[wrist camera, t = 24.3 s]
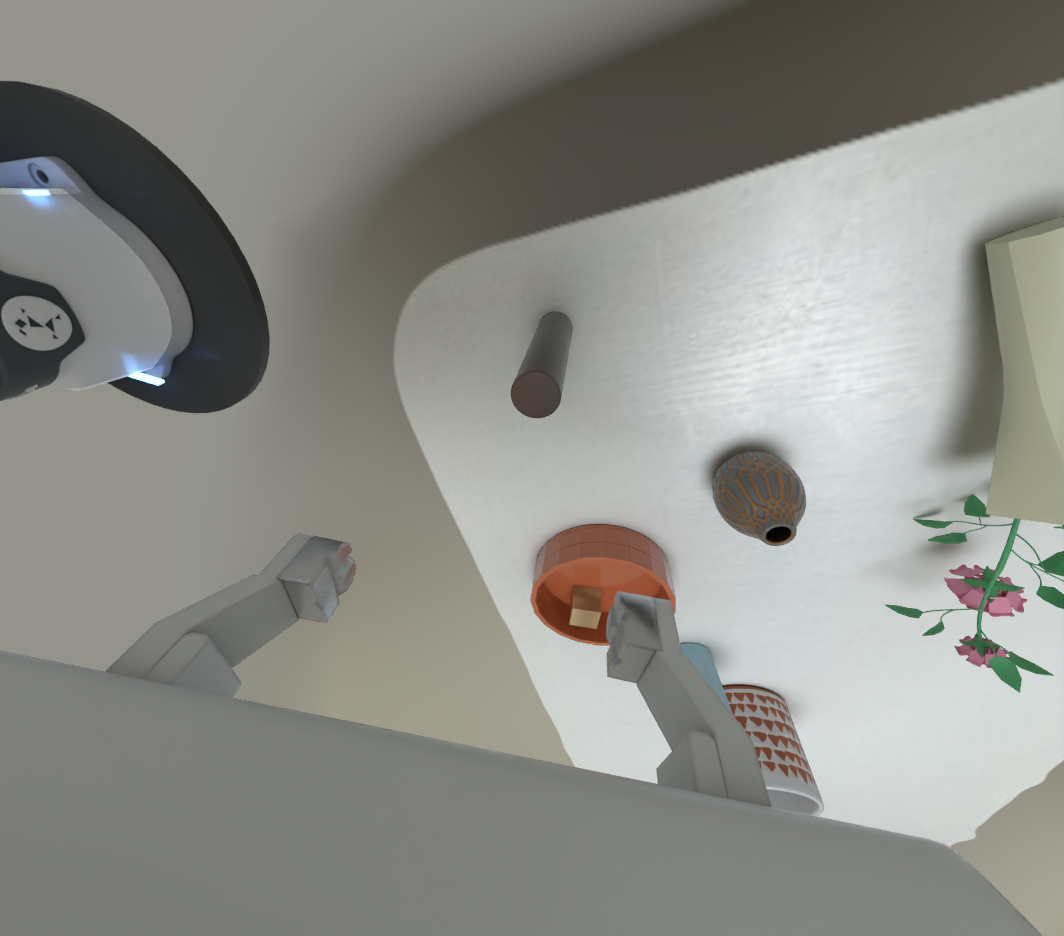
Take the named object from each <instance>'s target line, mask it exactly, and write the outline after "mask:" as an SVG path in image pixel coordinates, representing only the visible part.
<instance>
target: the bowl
mask: <svg viewBox="0 0 1064 936" xmlns="http://www.w3.org/2000/svg"><path fill="white" fill-rule="evenodd" d="M574 585H576V586H583V587H590V588H597V589H601V615H600V619H599V623H598V626H597V629H594V628H587V627H581V626H574V625H569V620H570V603H571V597H572V591H573V586H574ZM618 591H621V592H627V593H633V594H639V595H645V596H651V597H653V598H659V599H665V600H670V602H671V603H672V606H673V611H674V614H675V604H676V598H675V593H674V588H673V583H672V578H671V573H670V568H669V565H668V563H667V560H666V557H665V555H664V554H663V552H662V551H661V549H660V548H659V547H658V546H657V545H656V544H655V543H654V542H652V541H651V540H650V539H649V538H647V537H645V536H644V535H642V534H640V533H638V532H635V531H633V530H630V529H627V528H623V527H619V526H613V525H600V524H596V525H585V526H579V527H575V528H571V529H569V530H566V531H563V532H561V533H559V534H558V535H556V536H554V537H553V538H552V539H550V540H549V541H548V542H547V543H546V544H545V545H544V546H543V548H542V549H541V551H540V553H539V555H538V558H537V562H536V568H535V574H534V581H533V587H532V593H531V603H532V606H533V609H534V612H535V614H536V615H537V616H538V618H539V619H540V620H541V621H542V622H543V623H544V625H546V626H547V627H549V628H550V629H552V630H553V631H555V632H556V633H558V634H560V635H562V636H564V637H567V638H569V639H572V640H575V641H578V642H582V643H588V644H593V645H609V646H610V644H609V642H608V641H607V639H606V626H607V618H608V614H609V611H610V608H611V607H612V606H614V598H615V595H616V593H617V592H618Z"/></svg>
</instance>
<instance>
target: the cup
mask: <svg viewBox="0 0 1064 936" xmlns="http://www.w3.org/2000/svg"><path fill="white" fill-rule="evenodd" d="M680 647H681V653H682V655H685V656H688V658H689V659H690V660H691V662H692V663H693V664H694V666H695V667H696V668H697V669H698V671H699V672H700V673H701V675H702V676H703V677H704V678H705V680H706V681H707V682H708V684H709V685H710V686H711V688H712V689H713V690H714V691H715V693H716V694H717V695H718V697H719V698H720V699H721V700H722V702H723V703H724V704H725V706H726V707H727V708H728V710H729V711H730V712H731V713H732V710H731V708H730V705H729V702H728V700H727V697H726V694H725V692H724V689H723V686H722V684H721V681H720V678H719V676H718V673H717V670H716V668H715V665H714V662H713V660H712V657H711V654H710V652H709V650H708V649H707V648H706V647H704V646H702V645H700V644H695V643H684V644H680ZM732 715H733V713H732ZM733 716H734V715H733Z"/></svg>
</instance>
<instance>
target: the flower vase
mask: <svg viewBox="0 0 1064 936" xmlns="http://www.w3.org/2000/svg"><path fill="white" fill-rule="evenodd" d="M985 248H986V255H987V262H988V269H989V276H990V283H991V290H992V296H993V303H994V310H995V317H996V324H997V331H998V338H999V345H1000V352H1001V358H1002V365H1003V380H1004V398H1003V405H1002V411H1001V417H1000V424H999V430H998V437H997V443H996V450H995V456H994V462H993V469H992V475H991V482H990V488H989V494H988V501H987V507H985V505H984V504H983V503H982V502H981V501H980V500H979V499H978V498H977V497H976V496H975V495H974V494H973V495H972V496H971V497H970V498H969V499H968V500H967V501H966V502H965V506H964V512H965V515H970V516H976V517H979V520H980V517H990V515H994V516H1002V517H1009V518H1014V521H1013V523H1012V524H1006V525H985V526H984V527H986V526H1007V525H1012V528H1011V531H1010V534H1009V537H1008V540H1007V543H1006V546H1005V548H1004V551H1003V553H1002V556H1001V558H1000V561H999V563H998V565H997V568H996V570H991V569H989V567H988V566H987V567H986V569H982V568H980V567H979V566H977V565H974V569H975V570H974V569H971V568H967V567H966V566H965V565H961V566H960V567H958V568H957V569H956V570H953V569H951V570H949V571H950V572H951V573H952V574H955V575H960V576H965V578H964V579H947V578H944V579H945V581H946V583H947V586H948V587H949V589H950V590H951V591H952V592H953V593H954V594H955V595H956V596H957V597H958V598H959V601H960V603H962V604H965V605H966V606H967V608H969V609H947V610H951V611H954V610H970V609H973V610H978V617H977V633H976V635H975V637H974V638H972V639H971V638H970V636H966V637H965V638H964V639H963V640H962V639H960V640H959V641H960V643H962V644H963V645H962V646H959V647H957V646H955V648H956V650H957V652H958V654H959V655H961V656H963V655H968V656H969V657H968V658H967V659H966V660H967V661H968V662H970V663H972V664H974V665H977V666H979V667H980V666H981V665H982V664H985V665H986V666H987V667H988V668H992V669H993V670H994V672H995V673H996V674H997V675H998V676H999V678H1000V679H1001V680H1002V681H1004V682H1005V683H1007V684H1008V685H1009V686H1011V687H1012V688H1014V689H1015V690H1017V691H1018V692H1020V687H1021V676H1020V674H1019V672H1018V670H1017V667H1016V666H1015V665H1017V666H1018V667H1020V668H1022V669H1025V670H1027V671H1030V672H1033V673H1035V674H1042V675H1052V676H1054V675H1053V674H1051V673H1049V672H1048V671H1046V670H1044V669H1042V668H1041V667H1039V666H1037V665H1035V664H1034V663H1032V662H1030V661H1027V660H1025V659H1023V658H1021V657H1019V656H1017V655H1016V654H1014V653H1013V652H1011V651H1010V652H1008V651H1007V650H1006V649H1004V648H1003V647H1002V646H1000V645H998V644H996V643H994V642H992V640H988V638H987V637H986V635H985V634H984V633H983V632H982V630H981V619H982V613H983V611H984V612H987V613H989V614H990V615H991V616H993V617H999V616H1014V614H1012V608H1011V607H1013V608H1014V609H1015V611H1017V612H1021V613H1022V612H1024V608H1023V606H1022V605H1023V603H1024V602H1026V601H1027V599H1023V598H1021V596H1020V595H1019V594H1020V593H1023V592H1024V591H1023V590H1022V589H1024V588H1023V587H1018V586H1015V585H1013V584H1012V582H1011V579H1010V578H1009V577H1006V578H1003V577H999V575H1000V574H1001V572H1002V570H1003V569H1004V566H1005V564H1006V561H1007V559H1008V557H1009V554H1010V552H1011V551H1012V552H1013V553H1015V552H1014V551H1013V550H1012V546H1013V543H1014V539H1015V536H1016V535H1017V534H1016V533H1017V530H1018V526H1019V523H1020V520H1021V519H1023V520H1031V521H1038V522H1045V523H1052V524H1060V525H1062V526H1063V527H1054V528H1061V529H1064V216H1062V217H1058V218H1055V219H1052V220H1048V221H1045V222H1042V223H1039V224H1036V225H1032V226H1029V227H1026V228H1023V229H1020V230H1017V231H1015V232H1012V233H1009V234H1006V235H1004V236H1001V237H998V238H996V239H994V240H992V241H990V242H988V243H986V244H985ZM913 520H915V521H916V522H918V523H920V524H922V525H923V526H928V527H932V528H945V527H946V526H948V525H950V524H951V523H952V522H963V521H946V522H943V521H934V520H919V519H913ZM964 523H969V522H964ZM971 524H976V523H971ZM977 525H983V524H981V520H980V524H977ZM984 527H982V528H984ZM982 528H979V529H982ZM979 529H975V530H979ZM971 531H974V530H971ZM967 532H970V531H967ZM967 532H965V533H967ZM965 533H950V534H947V535H942V536H936V537H933V538H931V539H929V540H928V541H934V542H939V543H945V544H956V543H963V542H966V541H967V539H966V536H965ZM1017 536H1018V537H1020V536H1019V535H1017ZM1020 538H1021V539H1022V540H1024V539H1023V538H1022V537H1020ZM1024 541H1025V542H1026V543H1027V544H1028V545H1029V546H1030V547H1031V548H1032V549H1033V551H1034V552H1035V554H1036V556H1037V558H1038V560H1039V562H1040V563H1039V564H1038V566H1040V567H1041V568H1043V569H1044V570H1045V571H1046V572H1045V571H1043V570H1041V569H1039V568H1037V567H1035V566H1033V565H1037V564H1033V563H1030V562H1027V561H1025V560H1024V559H1022V558H1021V557H1020V556H1019V555H1017V554H1016V553H1015V554H1016V555H1017V556H1018V557H1019V558H1021V559H1022V560H1023V561H1025V562H1026V563H1028V564H1030V566H1031V568H1032V569H1033V567H1035V568H1037V569H1039V570H1041V571H1043V572H1045V573H1047V572H1048V573H1047V574H1049V573H1052V574H1056V575H1060V576H1064V551H1062V552H1058V553H1056V554H1054V555H1053V556H1051V557H1049V558H1047V559H1046V560H1044V561H1042V562H1041V560H1040V558H1039V556H1038V554H1037V553H1036V551H1035V550H1034V548H1033V547H1032V546H1031V545H1030V544H1029V543H1028V542H1027V541H1026V540H1024ZM1032 564H1033V565H1032ZM1032 566H1033V567H1032ZM1033 570H1034V569H1033ZM1034 571H1035V570H1034ZM980 573H983V575H979V574H980ZM1035 573H1036V574H1037V575H1038V573H1037V572H1036V571H1035ZM1049 575H1051V574H1049ZM973 576H977V577H980V578H975V577H973ZM1051 576H1053V575H1051ZM1038 577H1039V579H1040V587H1039V589H1038V591H1037V593H1036V594H1037V595H1038V596H1039V597H1041V598H1042V599H1043V600H1045V601H1047V602H1049V603H1051V604H1053V605H1054V606H1056V607H1059V608H1062V609H1064V594H1062V593H1061V592H1060V591H1058V590H1057V589H1056V588H1054V587H1046V586H1042V582H1041V578H1040V576H1039V575H1038ZM1053 577H1055V576H1053ZM997 578H999V579H1000V581H997ZM1055 578H1057V577H1055ZM1057 579H1059V578H1057ZM1059 580H1061V581H1063V582H1064V580H1062V579H1059ZM1018 593H1019V594H1018ZM886 606H887V607H889V608H891V609H892V610H894V611H896V612H897V613H899V614H902V615H905V616H908V617H913V618H919V617H920V616H921V615H922V613H925V612H931V611H925V612H922V611H920V610H918V609H913V608H906V607H901V606H896V605H886ZM932 611H944V610H932ZM951 611H948V612H946V613H944V614H943V615H942V616H941V619H940V621H941V622H939V623H938V624H937V625H936V626H934V627H933V628H931V629H929V630H928V631H927V632H926V633H924V634H923V635H922V636H928V635H935V634H937V633H940V632H942V631H943V630H944V625H943V622H942V617H943V616H944V615H945V614H947V613H949V612H951ZM981 632H982V633H983V635H984V636H985V637H986V639H984V638H982V634H981ZM1000 647H1001V648H1003V649H1004V650H1002V649H1001V648H1000ZM1006 654H1009V656H1010V657H1006Z"/></svg>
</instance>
